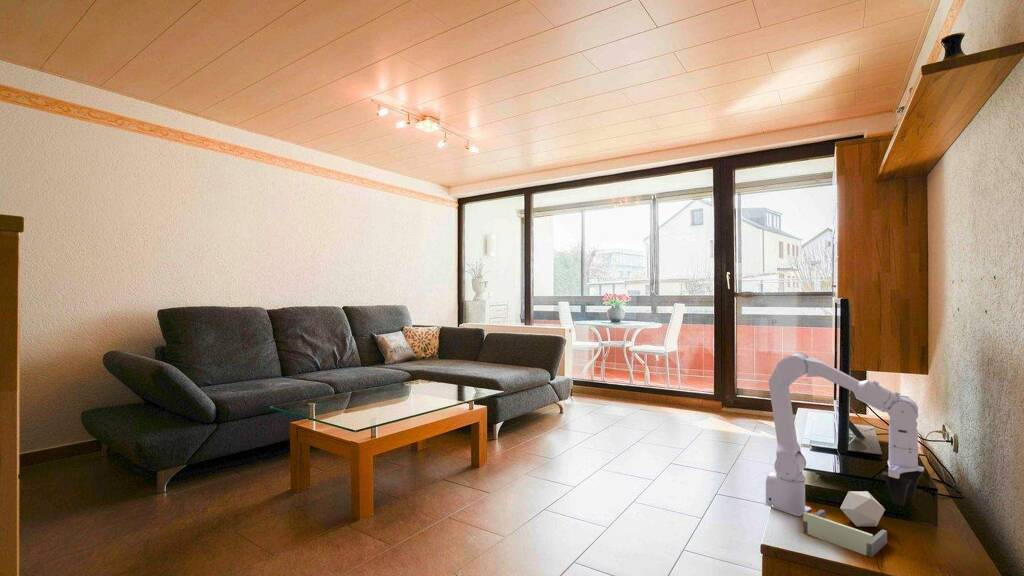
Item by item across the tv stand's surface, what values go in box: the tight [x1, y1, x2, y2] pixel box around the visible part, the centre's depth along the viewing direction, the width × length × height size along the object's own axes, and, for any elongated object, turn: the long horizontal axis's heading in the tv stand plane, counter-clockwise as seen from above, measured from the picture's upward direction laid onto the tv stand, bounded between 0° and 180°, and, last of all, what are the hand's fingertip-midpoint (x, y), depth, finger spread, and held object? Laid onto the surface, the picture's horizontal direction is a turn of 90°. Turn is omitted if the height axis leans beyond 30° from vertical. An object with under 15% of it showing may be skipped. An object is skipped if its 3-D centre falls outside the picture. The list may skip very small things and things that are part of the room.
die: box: [839, 490, 886, 528], centre depth 129 cm, size 8×9×10 cm
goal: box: [802, 509, 888, 558], centre depth 121 cm, size 15×11×5 cm
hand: (902, 500), depth 121 cm, fingers open, 7 cm apart
